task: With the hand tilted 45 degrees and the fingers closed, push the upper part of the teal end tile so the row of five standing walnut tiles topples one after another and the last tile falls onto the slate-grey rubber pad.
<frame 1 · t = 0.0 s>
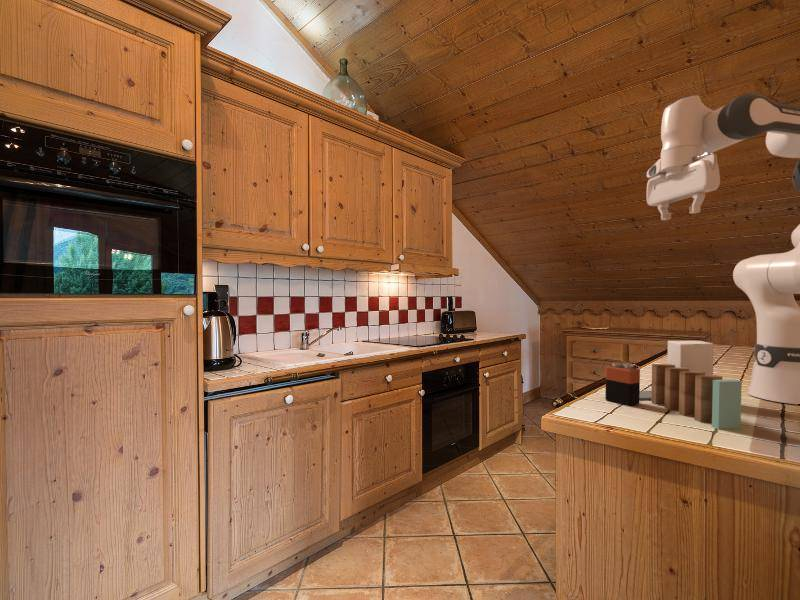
hand: (679, 216, 104), 48 cm above the worktop, tool pointing down, fingers open, 8 cm apart
battery: (622, 403, 104), on the worktop
domino 1 end: (726, 427, 85), on the worktop
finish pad: (643, 396, 110), on the worktop
domino 3: (691, 414, 94), on the worktop
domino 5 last: (662, 403, 103), on the worktop
domino 4: (676, 408, 98), on the worktop
skincare box: (689, 401, 105), on the worktop
domino 2: (707, 420, 89), on the worktop
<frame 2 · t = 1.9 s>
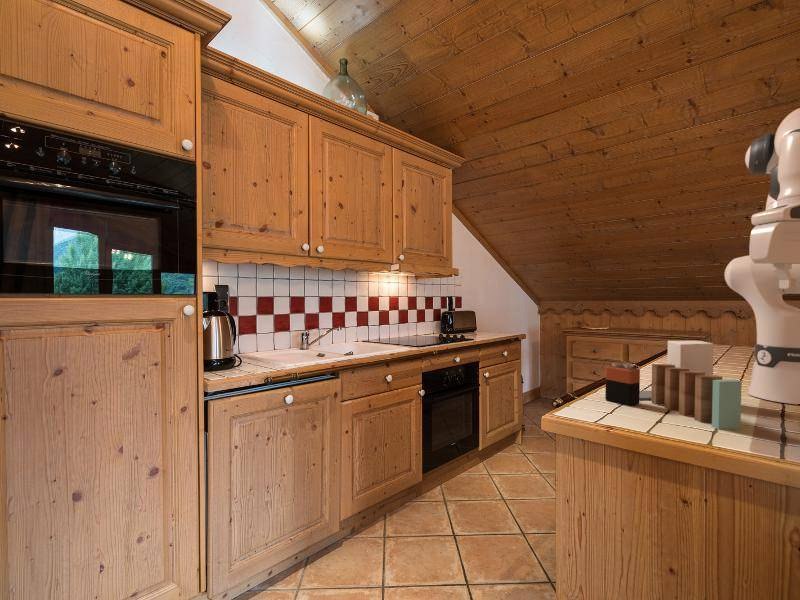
nothing on the worktop moved.
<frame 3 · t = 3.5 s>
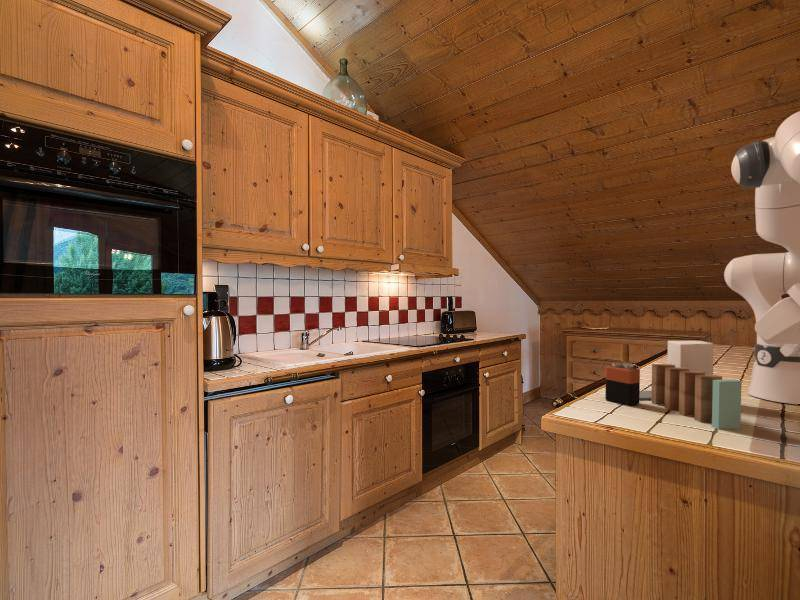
hand: (789, 353, 72), 18 cm above the worktop, tool tilted 45°, fingers closed
nothing on the worktop moved.
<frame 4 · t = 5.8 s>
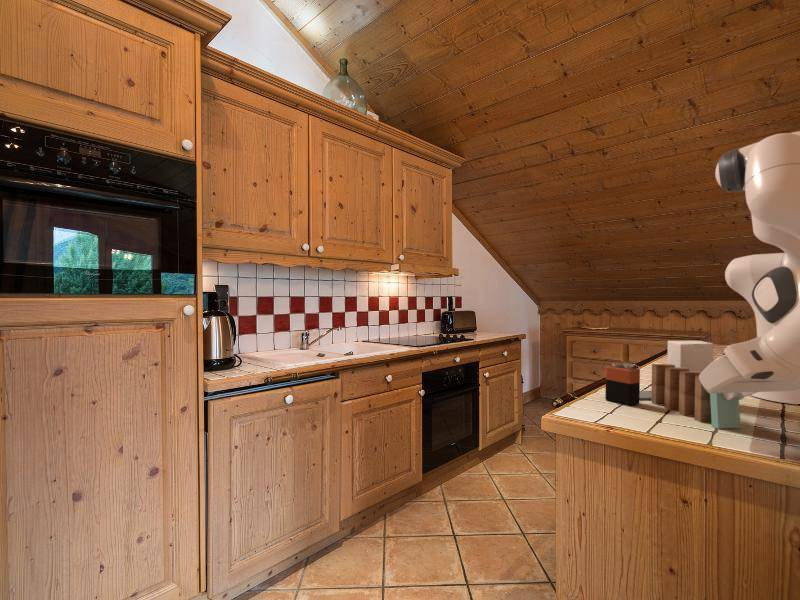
hand: (731, 397, 84), 7 cm above the worktop, tool tilted 45°, fingers closed, pressing on domino 1 end
domino 1 end: (726, 427, 85), on the worktop, tilted 5°, touching gripper
everything else where it was.
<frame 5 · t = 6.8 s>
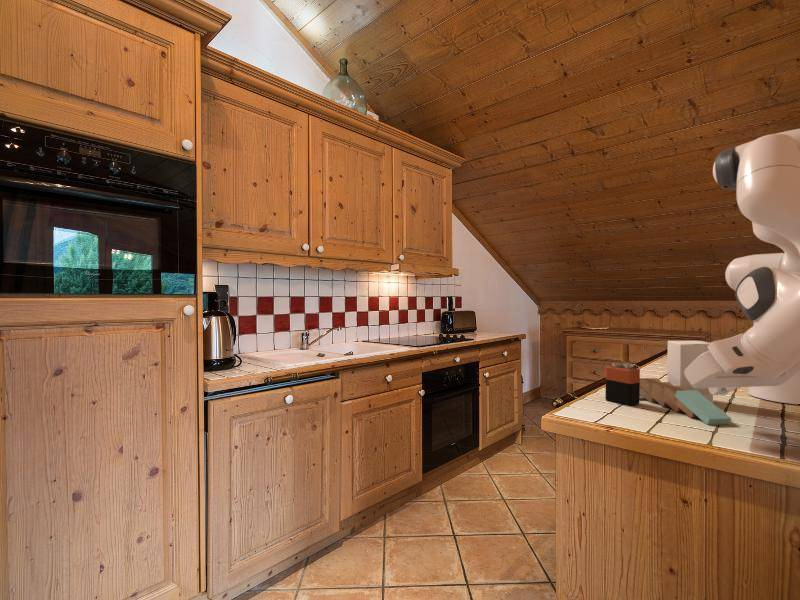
hand: (716, 392, 87), 7 cm above the worktop, tool tilted 45°, fingers closed
domino 1 end: (719, 421, 86), point 1 cm above the worktop, tilted 68°, touching domino 2
domino 3: (687, 409, 95), point 1 cm above the worktop, tilted 68°, touching domino 2, domino 4
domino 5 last: (660, 399, 103), point 1 cm above the worktop, tilted 76°, touching domino 4, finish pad
domino 4: (673, 404, 99), point 1 cm above the worktop, tilted 68°, touching domino 3, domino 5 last
domino 2: (702, 415, 91), point 1 cm above the worktop, tilted 68°, touching domino 1 end, domino 3
everything else where it was.
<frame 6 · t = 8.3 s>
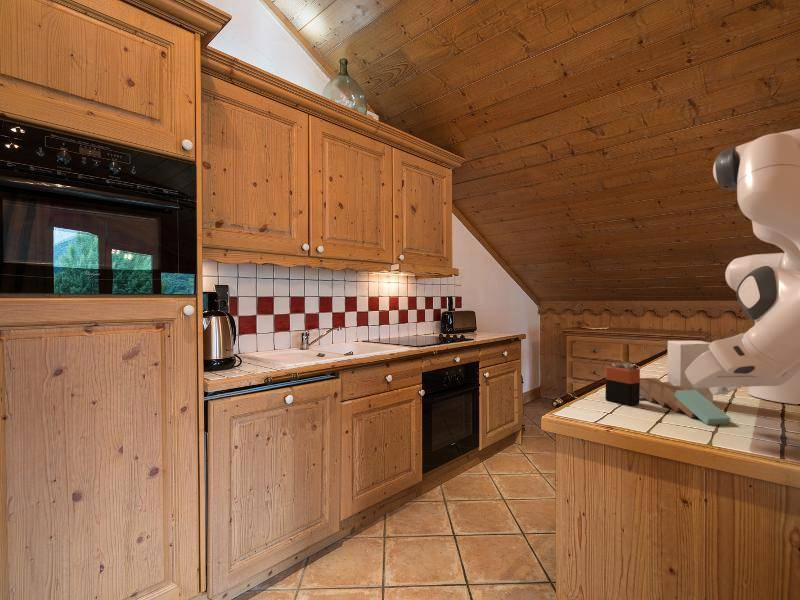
hand: (716, 391, 87), 7 cm above the worktop, tool tilted 45°, fingers closed
nothing on the worktop moved.
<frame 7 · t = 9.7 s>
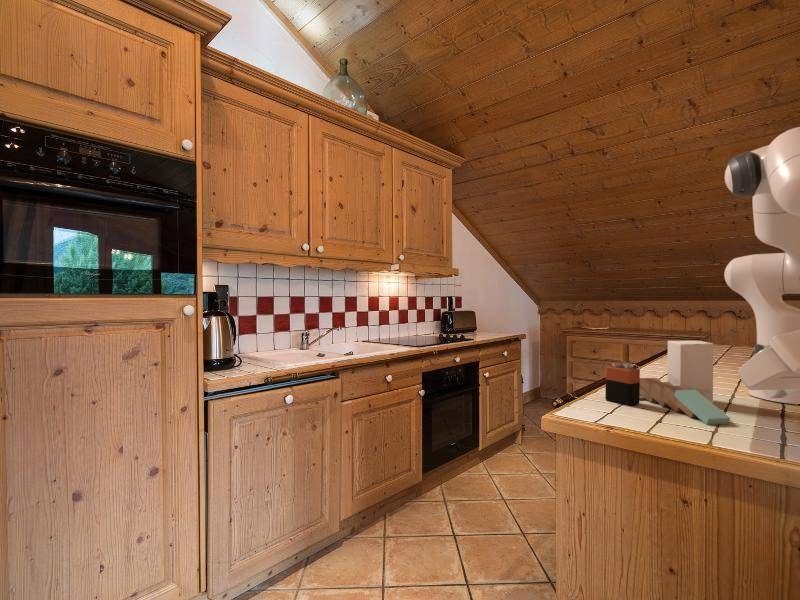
hand: (772, 394, 75), 9 cm above the worktop, tool tilted 45°, fingers closed
nothing on the worktop moved.
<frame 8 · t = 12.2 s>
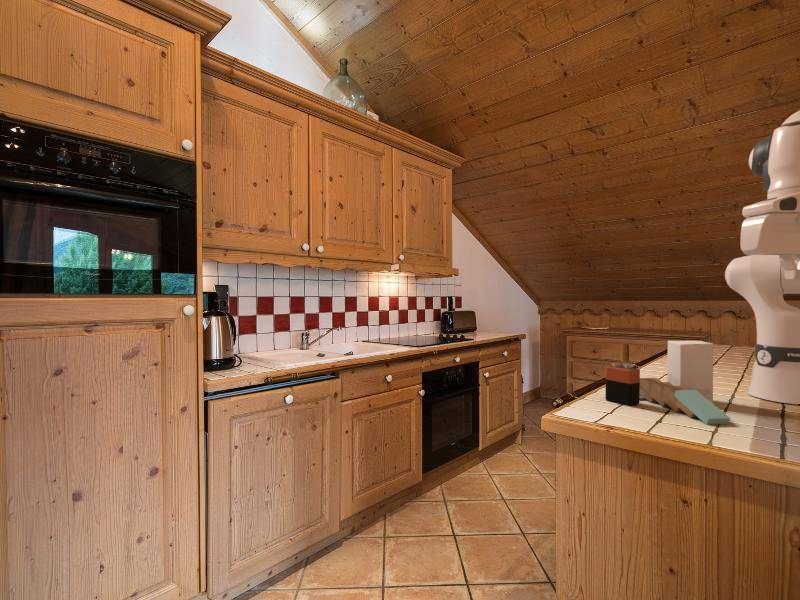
hand: (796, 279, 77), 31 cm above the worktop, tool pointing down, fingers closed
nothing on the worktop moved.
at the end: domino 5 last tilted 77°; domino 1 end tilted 68°; domino 3 tilted 68° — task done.
